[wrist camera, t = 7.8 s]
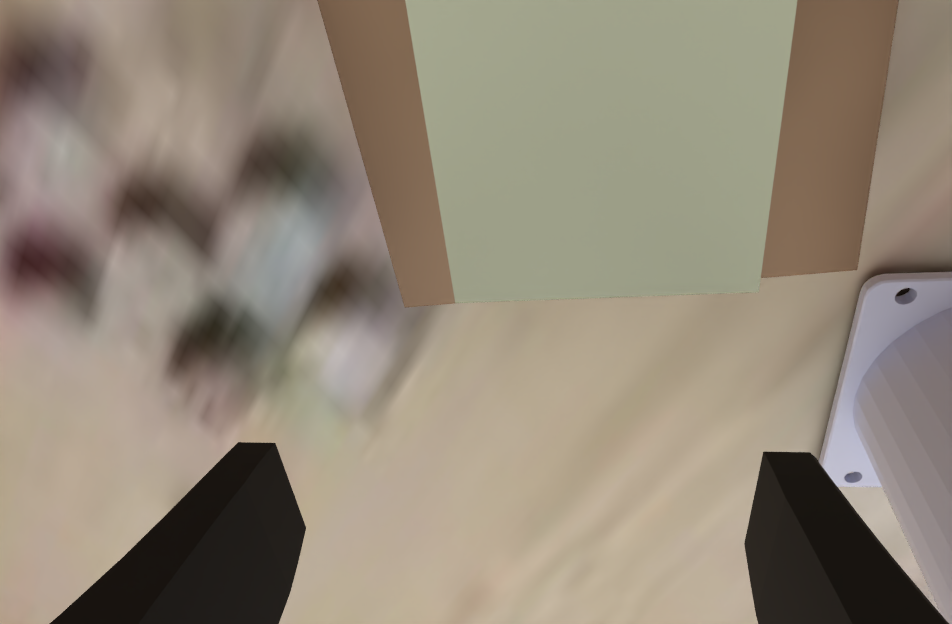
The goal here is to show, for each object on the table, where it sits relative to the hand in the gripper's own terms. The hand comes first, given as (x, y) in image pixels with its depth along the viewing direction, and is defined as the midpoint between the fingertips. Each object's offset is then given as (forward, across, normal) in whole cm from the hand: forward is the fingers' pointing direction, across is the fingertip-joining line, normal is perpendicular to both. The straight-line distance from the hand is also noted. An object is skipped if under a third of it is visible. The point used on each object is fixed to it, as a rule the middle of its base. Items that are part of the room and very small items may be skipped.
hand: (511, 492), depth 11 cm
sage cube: (+6, -1, -4) cm, 8 cm away
